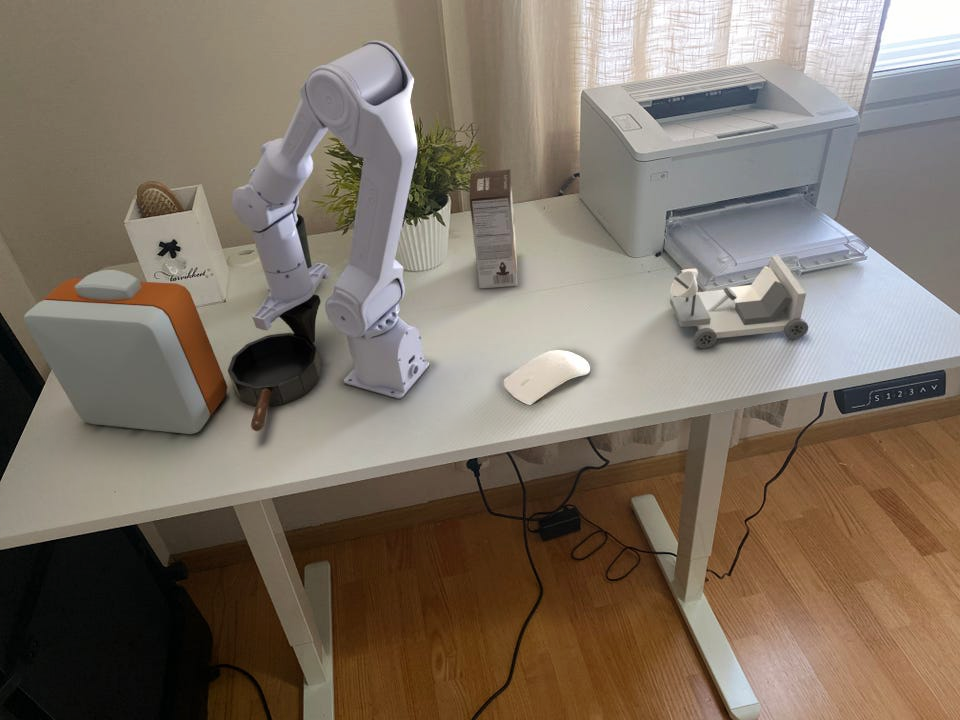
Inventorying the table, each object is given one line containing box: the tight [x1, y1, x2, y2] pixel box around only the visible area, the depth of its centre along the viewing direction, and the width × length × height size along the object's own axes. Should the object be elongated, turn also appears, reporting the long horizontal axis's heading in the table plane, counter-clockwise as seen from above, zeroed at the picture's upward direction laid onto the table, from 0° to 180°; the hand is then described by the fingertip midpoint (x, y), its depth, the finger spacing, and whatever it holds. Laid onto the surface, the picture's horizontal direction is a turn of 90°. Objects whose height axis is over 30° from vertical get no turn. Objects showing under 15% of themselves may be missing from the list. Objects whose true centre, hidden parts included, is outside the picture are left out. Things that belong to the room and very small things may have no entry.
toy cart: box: [669, 254, 809, 349], centre depth 102 cm, size 18×10×12 cm
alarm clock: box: [23, 269, 228, 435], centre depth 95 cm, size 18×9×21 cm, turn 77°
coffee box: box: [469, 168, 518, 289], centre depth 116 cm, size 9×6×16 cm
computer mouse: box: [503, 349, 591, 406], centre depth 98 cm, size 7×12×2 cm, turn 122°
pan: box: [227, 332, 322, 432], centre depth 100 cm, size 19×12×4 cm, turn 3°
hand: (307, 341), depth 108 cm, fingers closed
